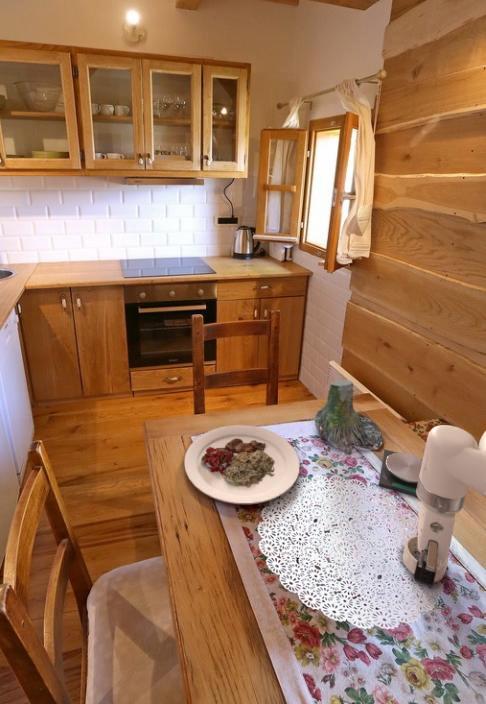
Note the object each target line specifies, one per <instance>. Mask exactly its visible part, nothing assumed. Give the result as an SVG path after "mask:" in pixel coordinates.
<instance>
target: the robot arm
mask: <svg viewBox="0 0 486 704" xmlns="http://www.w3.org/2000/svg"><path fill="white" fill-rule="evenodd" d="M422 459H423V461H422V466H421V470H420V475H419V480H418V484H417V489H416V494H417V496H418V498H417V499H419V501H420V504H419V509H418V517H417V531H416V535H418V550H419V551H418V552H419V553H420V554H419V558H418V559H419V560H418V561H417V565H416V569H415V573H414V574H413V579H414V580H415V581H419V582H422V583H424V584H427V585H429V586H433V585H434V583H435V582H434V579H435V575H436V571H437V567H438V564H437V561H438V556H439V559H440V560H442V561H446V560H447V558H448V559H449V552H450V548H451V543H452V538H453V534H454V527H455V519H456V514H458V513H460V512H461V511H462V510H463V507H464V503H465V500H466V496H467V492H468V488H471V489H473V490H474V491H475V492H478V493H479V494H481V495H483V496H484V497H486V430H485V431H484V432H483V434H482V435H481V438H480V439H479V442H477V440H476V439H475V437H474V436H473V435H472V434H471V433H470V432H468V431H466V430H464V429H463V428H460V427H458V426H454V425H449V424H442V425H437V426H436V425H435V426H434V427H433V428H432V429H430V430H429V432H428V434H427V437H426V443H425V447H424V452H423V457H422ZM427 546H428V550H427V549H426V548H427ZM425 555H426V561H425V560H424V559H425Z"/></svg>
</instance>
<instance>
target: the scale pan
mask: <svg viewBox="0 0 486 704" xmlns="http://www.w3.org/2000/svg"><path fill="white" fill-rule="evenodd" d="M421 459H422V458H420V457H418V456H416V455H413V454H410V453H406V452H397V453H394V454H391V455H389V456H388V457H387V459H386V467H387V469H388V470H389V472H390V473H391V474H393V475H394V476H395V477H397V478H399V479H401V480H403V481H406V482H409V483H416V484H418V480H419V475H420V470H421V466H422V461H423V460H421Z"/></svg>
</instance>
